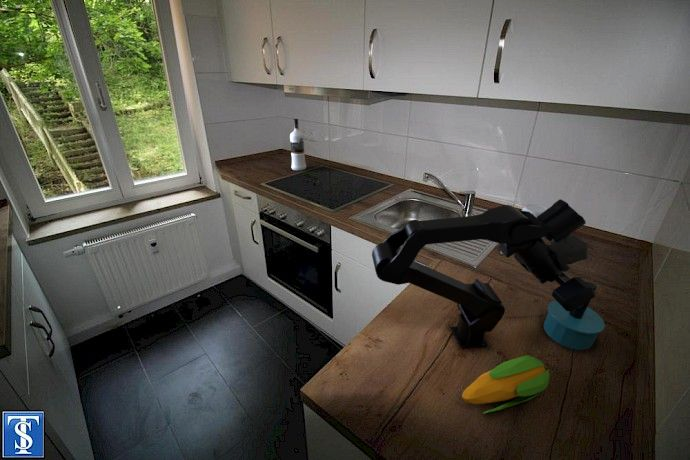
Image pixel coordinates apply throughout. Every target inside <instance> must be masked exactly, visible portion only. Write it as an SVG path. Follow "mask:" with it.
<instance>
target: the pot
mask: <svg viewBox="0 0 690 460" xmlns="http://www.w3.org/2000/svg"><path fill="white" fill-rule="evenodd" d="M543 329H544V332H545V333H546V335H547V336H549V338H551V339H552V340H553V341H554V342H556V343H557V344H559V345H561V346H563V347H565V348H568V349H571V350H577V351H584V350H585V351H586V350H588V349H590V348H591V347H592V346H593V345H594V343H595V341H596V340H597V338H598V336H599V334H595V335H587V334H581V333H577V332H574V331H572V330H569V329H567V328H565V327H564V326H562V325H560V324H559V323H558V322H556V321H555V320H554V319H553V318H552V317H551V315H550V314H549V312H548V311H547V315H546V318H545V320H544V323H543Z"/></svg>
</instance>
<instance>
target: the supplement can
mask: <svg viewBox="0 0 690 460" xmlns="http://www.w3.org/2000/svg"><path fill="white" fill-rule="evenodd" d="M547 209H548V208H547V207H545V206H543V205H539V204H534V203H530V204H529V203H528V204H526V205H524V207H523V208H522V209H521V211H528V212H530V213H531V214H533V215H534V216H535V217H537V216H539V215H540V214H541V213H543V212H544V211H546V210H547Z"/></svg>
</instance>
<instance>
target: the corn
mask: <svg viewBox="0 0 690 460" xmlns="http://www.w3.org/2000/svg"><path fill="white" fill-rule="evenodd" d="M549 382H550V372H549V368H547V367H546V365H545V364H544V363H543V362H542V361H541V360H540V359H538V358H536V357H534V356H531V355H529V354H527V355H523V356H520V357H519V356H518V357H516V358H512V359H509V360H506V361H504V362H501V363H500V364H498V365H496V366H495V367H494V368H493V369H491V370H488V371H486V372H484V373H482V374H481V375H479V376H478V377H477V378H476V379H475V380H474V381H473V382H472V383H471V384H470V385H469V386H467V387H466V388H465V389H464V390H463V392H462V395H461V398H462V399H463V401H464V402H465V403H467V404H468V403H469V404H472V405H485V404H486V405H487V404H491V403H492V404H493V403H497V402H498V403H499V402H504V401H508V402H506V403H504V404H501V405H499V406H497V407H494V408H491V409H488V410H485V411H483V415H485V414H490V413H494V412H498V411H502V410H505V409H508V408H511V407H513V406H516V405H519V404H522V403H525V402H529V401H531V400H533V399H534V398H536V397H537V396H538V395H540V394H541V393H542V392H543V391H544V390H546V389H547V387H548V386H549V384H550V383H549ZM511 399H512V400H511ZM509 400H511V401H509Z"/></svg>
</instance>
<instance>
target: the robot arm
mask: <svg viewBox="0 0 690 460" xmlns="http://www.w3.org/2000/svg"><path fill="white" fill-rule="evenodd" d="M586 224H587V223H586V220H585V218H584V217H583V216H582V215H580V214H579V213H578V212H577V211H576V210H575V209H574V208H573V207H571V206H570V205H569V203H568V202H567V201H565V200H563V199H561V198H559V199H558V200H557V201H555V202H554V203H553V204H552V205H551V206H550V207H548V208H547V210H546V211H544V212H543V213H541V214H540V215H539V216H537V217H535V216H534V215H533V214H531V213H530V212H528V211H522V209H521V210H520V209H517V208H515V207H514V206H512V205H510V204H505V205H501V206H495V207H492V208H489V209H487V210H486V211H484V212H481V213H479V214H476V215H467V216H458V217H457V216H455V217H445V218H435V219H426V220H425V219H424V220H423V219H422V220H419V219H412V220H409V221H408V222H407V223H406V224H405V225H404V226H402V228H400V229H398V230H396V231H395V232H392V233H390V235H388V236H387V237H386V238H385V239H384V240H383V241H382V242H380V243H379V244H376V245H375V246H374V248H373V249H372V251H371V252H372V253H371V257H372V262H373V265H374V270H375V271H374V272H375V275H376V277H377V278H378V279H379V280H380V281H382V282H385V283H389V284H393V285H397V286H398V285H399V286H400V285H404V284H411V285H413V286H414V287H418V288H420V289H422V290H425V291H427V292H430V293H432V294H434V295H437V296H439V297H441V298H444V299H446V300H448V301H451V302H453V303H456V306H457V308H458V309H459V311H460V313H459V317H458V321H457V325H456V326H451V327H450V331H451V332H452V334H453V336H454V338H455V340H456V342H457V344H458V345H459V347H460V348H461V350H462V349H463V350H464V349H477V348H487V347H488V342H487V341H486V339H485V334H486V332H488V333H489V332H492V331H493V330H494V328H495V327H496V326H497V325H498V324H499V322H500V321H501V320H502V319H503V316H504V315H505V312H506V307H505V306H504V305H503V301H502V300H501V299H500V297H499V296H498V295H497V293H496V292H495V290H494V289H493V288H492V286H491V285H490V284H489V282H483V281H481V280H480V279H478V278H475V279H474V281H473V282H471V283H464V282H463V281H461V280H458V279H456V278H454V277H451V276H450V275H447V274H445V273H442V272H440V271H438V270H435V268H434V269H433V268H431V267H429V266H427V265H425V264H422V263H420V262H418V261H416V258H417V256H418V254H419V253H420V251H421V250H423V248H425V246H426V245H437V244H447V243H456V242H467V241H468V242H469V241H478V240H479V241H480V240H485V241H489V242H494V243H497V244H499V246H498V250H499V251H501V253H502V254H503V255H504V256H505V257H506V259H507V258H511V256H513V258H514V259H515V260H516V262H517V263H518V264H519V265H520V266H521V267H523V268H524V270H526V271H527V272H529V273H531V274H532V275H533V276H534V278H536V280H538V282H539V283H540V284H542V285H544V284H545V283H547V282H550V283H553V282H556V284H558V285H559V286H557V287H556V288H554V289H553V290H552V292H551V296H552V298H553V299H554V301H555V300H556V301H557V302H558V303H559V304H560V305H561V306H562V307H563V308H564V309H565V310H566V311H573V310H574V309H576V308H578V309H580V308H582V307H583V306H584V303H586V302H587V301H589V300H592V299H594V298H596V296H597V292H596V290H595V291H594V289H593V288H592V287H591V286H590V285H588V284H587V283H586V282H587V281H585V280H584V279H582V278H581V277H580V276H575V277H573V276H572V278H570V277H569V276H568V275H567V274H565V273H566V272H567V271H568V270H570V269H571V267H570V266H569V265H573V264H576V263H577V262H581V261H585V260H587V259H589V251H588V244H587V243H586V242H584V241H583V240H582V239H581V238H580V237H579V238H578V237H577V236H576V235H571V234H573V233H574V232H576V231H577V230H579V229H580V228H581V227H583V226H584V225H586ZM543 238H545V239H546V240H547V241H549V243H548V244H547V243H546V242H545V241H544V239H543ZM564 272H565V273H564Z"/></svg>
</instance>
